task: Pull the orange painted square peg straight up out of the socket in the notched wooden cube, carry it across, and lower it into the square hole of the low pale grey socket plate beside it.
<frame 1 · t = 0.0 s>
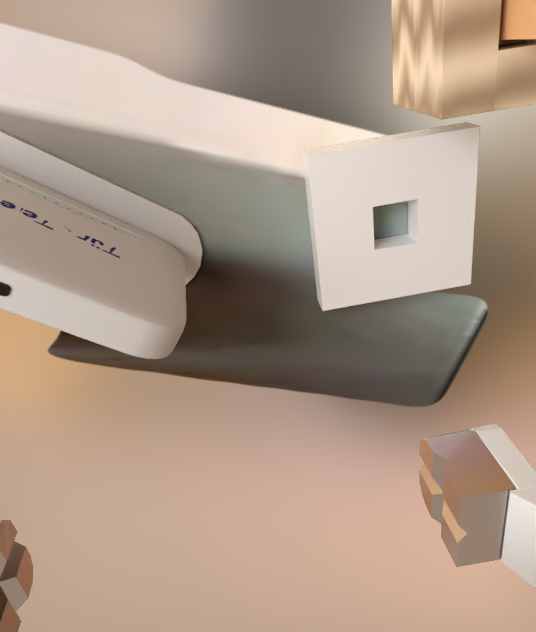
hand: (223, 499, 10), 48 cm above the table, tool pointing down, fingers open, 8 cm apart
socket plate: (387, 217, 59), on the table
notched wooden cube: (461, 16, 50), on the table
wireless router: (63, 208, 54), on the table
peg: (498, 13, 44), point 7 cm above the table, touching notched wooden cube
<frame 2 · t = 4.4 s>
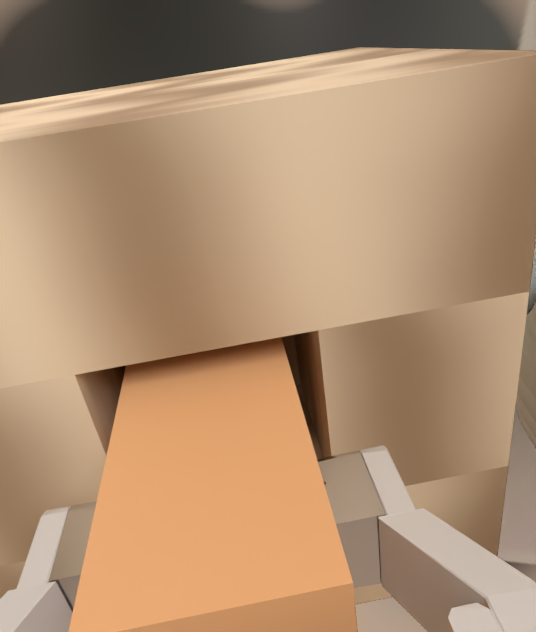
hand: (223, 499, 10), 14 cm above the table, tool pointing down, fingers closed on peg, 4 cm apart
notched wooden cube: (209, 254, 22), on the table
peg: (213, 334, 16), point 7 cm above the table, touching gripper, notched wooden cube
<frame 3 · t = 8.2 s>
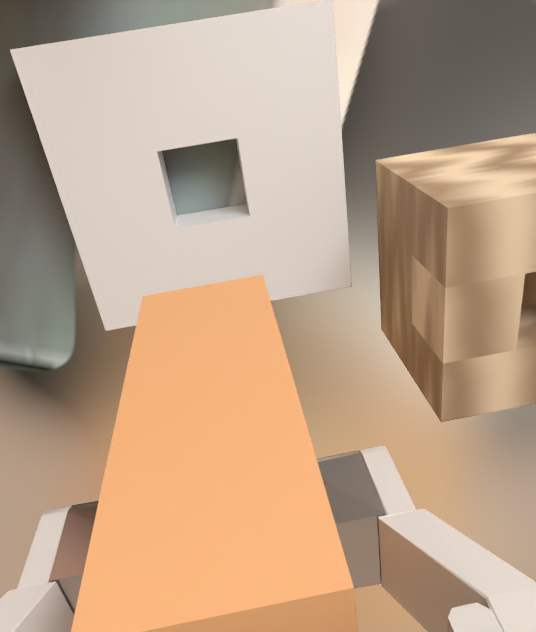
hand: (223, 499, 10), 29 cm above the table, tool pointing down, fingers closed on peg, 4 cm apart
socket plate: (204, 174, 35), on the table
notched wooden cube: (466, 236, 40), on the table
peg: (214, 336, 16), point 22 cm above the table, touching gripper
when the fingers open (8 cm above the table, at t = 12.1 s): peg drops 1 cm, resting in socket plate.
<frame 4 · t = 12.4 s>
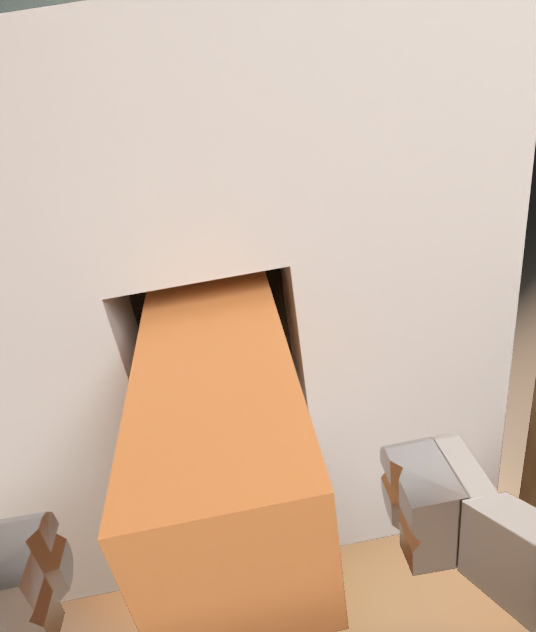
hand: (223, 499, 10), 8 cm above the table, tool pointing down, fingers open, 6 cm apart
socket plate: (211, 313, 17), on the table
peg: (215, 313, 17), resting in socket plate
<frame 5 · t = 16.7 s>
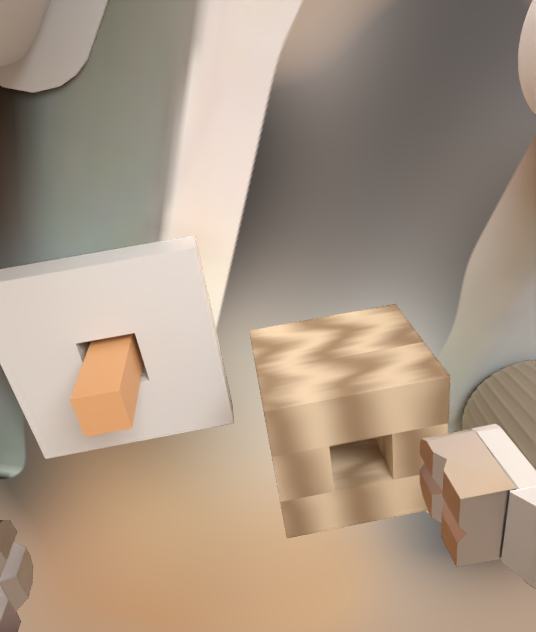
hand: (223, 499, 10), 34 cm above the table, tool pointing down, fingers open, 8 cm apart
socket plate: (118, 344, 47), on the table
notched wooden cube: (328, 377, 51), on the table
canister: (512, 401, 56), on the table
peg: (119, 345, 47), resting in socket plate
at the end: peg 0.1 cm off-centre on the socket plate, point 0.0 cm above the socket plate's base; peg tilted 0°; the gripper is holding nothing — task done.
